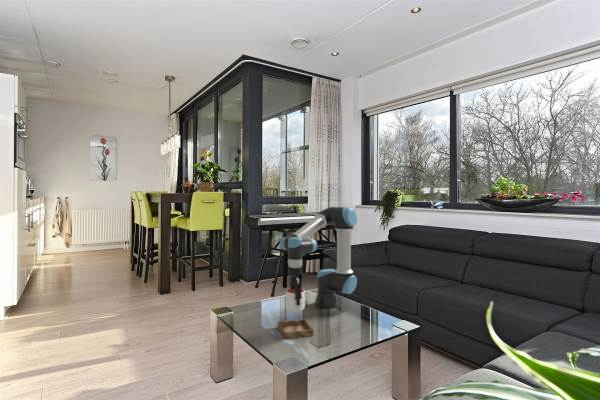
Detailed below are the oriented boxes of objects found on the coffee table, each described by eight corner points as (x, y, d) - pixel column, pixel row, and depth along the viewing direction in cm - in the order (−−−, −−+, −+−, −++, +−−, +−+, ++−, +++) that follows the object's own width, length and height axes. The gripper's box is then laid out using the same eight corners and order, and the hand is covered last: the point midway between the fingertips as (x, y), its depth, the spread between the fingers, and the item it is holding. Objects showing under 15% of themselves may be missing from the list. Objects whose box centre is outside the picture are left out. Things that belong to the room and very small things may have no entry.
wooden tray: (305, 324, 200) (305, 319, 200) (313, 335, 184) (313, 330, 184) (277, 327, 196) (277, 321, 196) (283, 338, 181) (282, 333, 181)
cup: (302, 312, 184) (302, 293, 184) (284, 311, 186) (283, 292, 186) (306, 306, 194) (306, 288, 194) (288, 305, 196) (288, 287, 196)
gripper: (284, 262, 199) (284, 301, 200) (292, 271, 178) (293, 315, 178) (297, 262, 201) (297, 300, 202) (307, 270, 179) (307, 314, 180)
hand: (295, 307), depth 190 cm, fingers closed on cup, 10 cm apart
